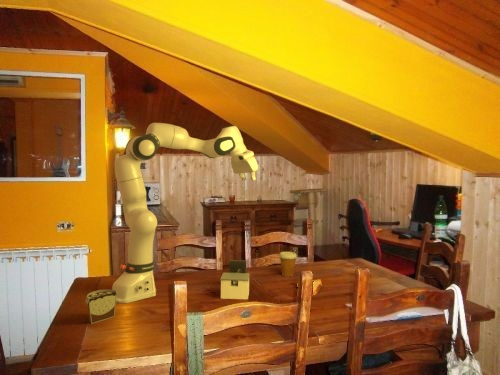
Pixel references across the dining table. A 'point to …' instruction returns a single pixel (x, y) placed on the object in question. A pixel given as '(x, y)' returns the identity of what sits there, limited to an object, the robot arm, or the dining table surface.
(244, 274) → the block
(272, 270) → the dining table surface
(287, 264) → the disposable coffee cup
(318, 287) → the slice of bread
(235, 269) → the plunger
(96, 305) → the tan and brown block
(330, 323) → the dining table surface
